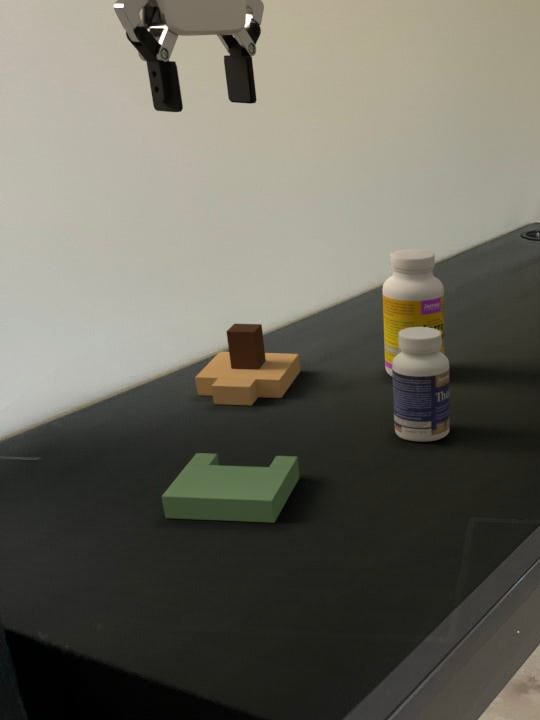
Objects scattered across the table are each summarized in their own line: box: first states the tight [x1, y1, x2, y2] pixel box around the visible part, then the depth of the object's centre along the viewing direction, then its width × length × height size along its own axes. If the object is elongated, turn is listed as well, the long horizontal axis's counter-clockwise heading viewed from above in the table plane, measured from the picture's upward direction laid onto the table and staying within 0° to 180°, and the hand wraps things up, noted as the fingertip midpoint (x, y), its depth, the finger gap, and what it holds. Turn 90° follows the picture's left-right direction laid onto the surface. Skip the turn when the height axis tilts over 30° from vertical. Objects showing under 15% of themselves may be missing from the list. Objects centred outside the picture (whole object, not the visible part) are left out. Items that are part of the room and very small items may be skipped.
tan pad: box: [194, 323, 301, 406], centre depth 105 cm, size 9×12×6 cm
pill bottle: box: [391, 327, 451, 443], centre depth 93 cm, size 5×5×10 cm
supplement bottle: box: [382, 248, 445, 377], centre depth 108 cm, size 7×7×13 cm
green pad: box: [161, 452, 301, 524], centre depth 83 cm, size 9×9×2 cm
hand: (207, 106), depth 94 cm, fingers open, 9 cm apart
